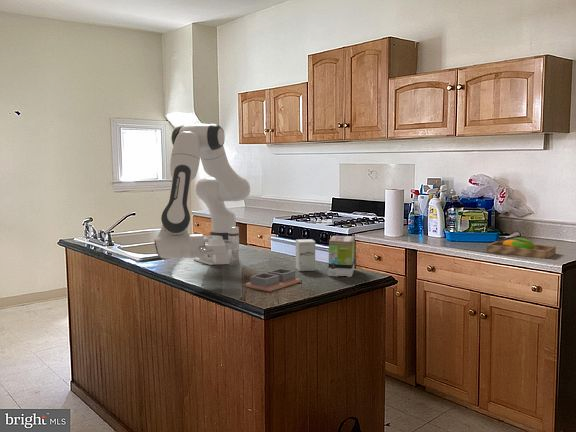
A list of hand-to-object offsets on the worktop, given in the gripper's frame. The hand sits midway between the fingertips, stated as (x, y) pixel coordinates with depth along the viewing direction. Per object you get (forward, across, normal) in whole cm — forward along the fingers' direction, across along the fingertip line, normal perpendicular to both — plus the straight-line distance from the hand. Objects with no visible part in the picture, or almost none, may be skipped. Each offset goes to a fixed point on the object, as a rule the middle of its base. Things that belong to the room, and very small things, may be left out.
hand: (236, 244), depth 205 cm
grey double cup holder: (+14, -4, +16) cm, 21 cm away
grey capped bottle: (-1, 0, +8) cm, 8 cm away
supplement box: (+31, +19, +16) cm, 40 cm away
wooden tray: (+142, +31, +17) cm, 146 cm away
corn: (+141, +32, +17) cm, 146 cm away
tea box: (+44, +9, +16) cm, 48 cm away
